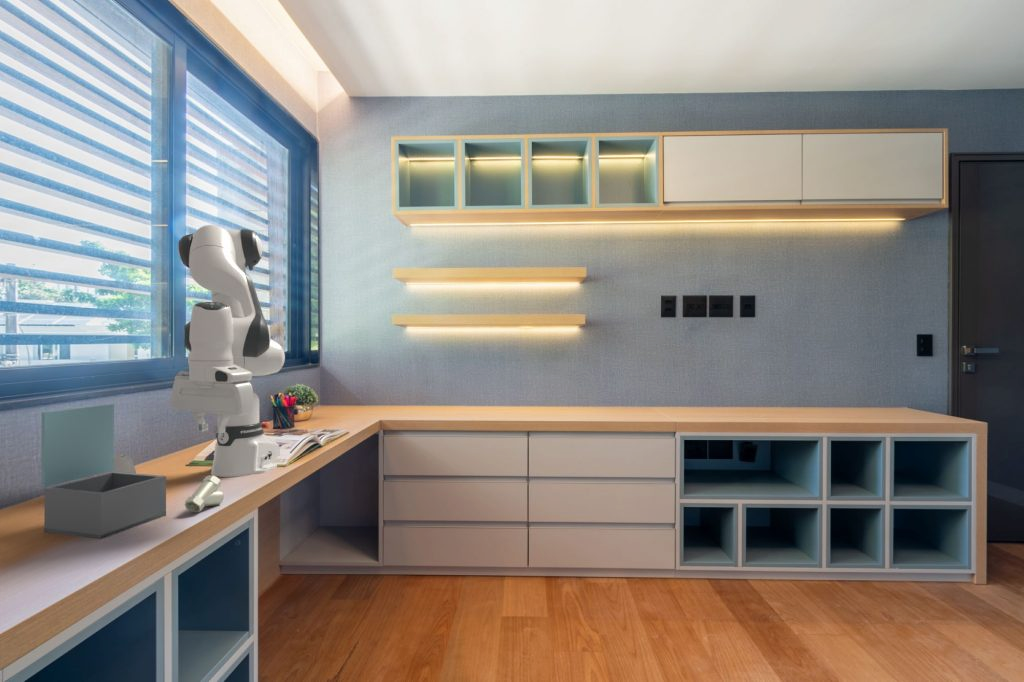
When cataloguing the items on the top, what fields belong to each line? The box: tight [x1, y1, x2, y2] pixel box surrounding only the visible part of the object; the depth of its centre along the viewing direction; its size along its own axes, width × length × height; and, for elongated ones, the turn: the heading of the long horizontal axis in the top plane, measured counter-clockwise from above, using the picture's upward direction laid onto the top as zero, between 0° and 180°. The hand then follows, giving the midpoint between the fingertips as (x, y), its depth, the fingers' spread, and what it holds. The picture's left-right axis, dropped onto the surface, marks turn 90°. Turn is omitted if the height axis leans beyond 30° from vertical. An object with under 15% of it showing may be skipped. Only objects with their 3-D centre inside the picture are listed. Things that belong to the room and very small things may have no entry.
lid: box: [41, 403, 115, 488], centre depth 112 cm, size 14×15×1 cm
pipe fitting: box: [184, 474, 225, 513], centre depth 119 cm, size 8×4×7 cm
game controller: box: [75, 453, 137, 481], centre depth 133 cm, size 14×4×10 cm, turn 93°
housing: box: [43, 472, 167, 540], centre depth 110 cm, size 14×15×9 cm
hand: (211, 432), depth 120 cm, fingers open, 3 cm apart
